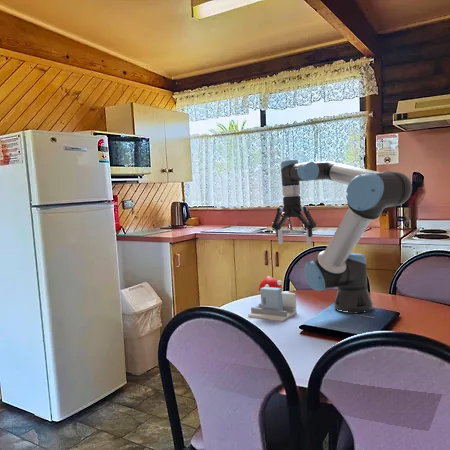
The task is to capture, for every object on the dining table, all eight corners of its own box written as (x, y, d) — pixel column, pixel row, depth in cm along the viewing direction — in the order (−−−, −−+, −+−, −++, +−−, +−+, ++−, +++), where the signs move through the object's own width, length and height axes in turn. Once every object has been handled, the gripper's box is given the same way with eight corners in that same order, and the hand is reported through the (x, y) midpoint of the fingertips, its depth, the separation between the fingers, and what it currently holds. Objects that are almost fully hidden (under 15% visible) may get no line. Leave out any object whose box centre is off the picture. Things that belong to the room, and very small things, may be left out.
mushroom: (282, 306, 183) (280, 279, 182) (258, 306, 185) (256, 280, 184) (284, 299, 193) (282, 274, 192) (260, 300, 195) (258, 275, 194)
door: (283, 312, 171) (281, 288, 170) (278, 314, 168) (277, 290, 167) (266, 310, 175) (264, 286, 175) (261, 312, 172) (260, 288, 172)
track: (296, 312, 172) (295, 293, 171) (282, 321, 162) (281, 301, 161) (263, 308, 181) (261, 290, 181) (248, 316, 172) (247, 297, 171)
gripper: (322, 193, 176) (324, 243, 178) (270, 197, 191) (273, 242, 193) (314, 194, 170) (317, 245, 172) (262, 197, 185) (265, 245, 187)
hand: (294, 244), depth 182 cm, fingers open, 13 cm apart
